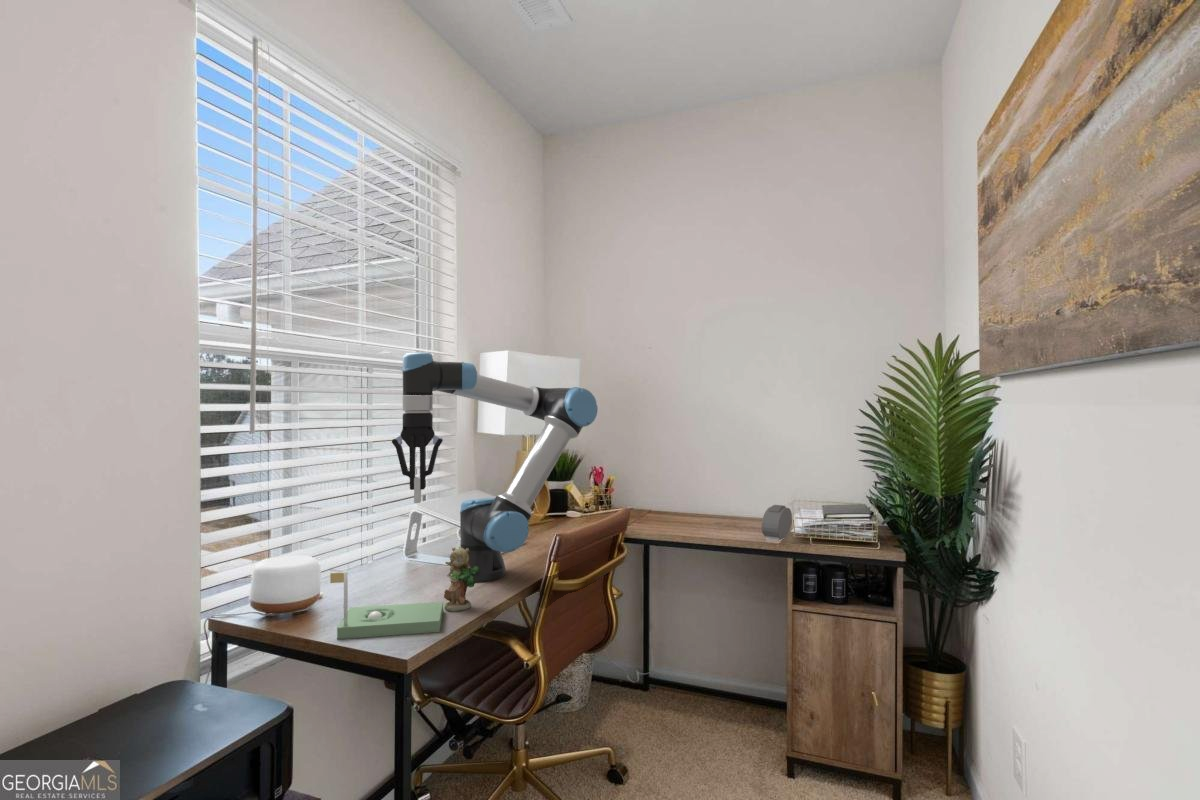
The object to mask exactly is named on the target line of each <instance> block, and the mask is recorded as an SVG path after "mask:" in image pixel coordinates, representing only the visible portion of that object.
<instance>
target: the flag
mask: <svg viewBox="0 0 1200 800" xmlns="http://www.w3.org/2000/svg"><path fill="white" fill-rule="evenodd" d="M329 574H330V577H329V578H330V579H329V580H330V581H329V582H330V584H340V583H343V618H344V626H347V625H348V610H349V607H348V606H349V605H348V603H349V601H348V600H349V596H348V594H349V589H348V587H349V583H348V581H349V577H348V575H349V573H348V571H343V572H341V571H340V572H330V573H329Z"/></svg>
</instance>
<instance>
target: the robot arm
mask: <svg viewBox="0 0 1200 800" xmlns="http://www.w3.org/2000/svg"><path fill="white" fill-rule="evenodd" d="M433 358H434V356H433V354H431V353H427V352H407V353H405V354H404V355H403V358H402V359H403V360H402V370H401V372H402V411H404V413H403V414H402V429H401V431H400V435H398V436H397V437H396V438H393V439H392V440H391V443H392V444H393V446H394V448H395V450H396V453H397V458H398V462H399V467H400V469H401V474H402V476H406V477H408V478H409V489H410V490H411V491H413V504H421V502H422V490H425V489H426V477H428V476H431V475H432V474H433V472H434V468H435V463H436V461H437V459H436V458H437V455H438V453H439V448H440V445H441V444H442V442H443V441H444V440H443V438H442V437H439V436H437V435H436V434H435V431H434V428H433V427H434V426H433V425H434V424H433V423H434V421H433V419H434V418H433V417H434V416H433V413H432V412H431V411H433V409H434V408H433V406H434V405H433V403H434V401H433V397H434V396H433V395H434V394H433V392H436V391H437V392H442V393H446V394H451V395H453V396H454V395H455V396H459V397H462V398H463V397H464V398H467V399H471V400H475V401H479V402H484V403H488V404H493V405H496V406H499V407H500V406H501V407H504V408H508V409H509V408H510V409H514V410H517V411H522V413H523V414H524V415H526V416H528V417H533V418H535V419H539V420H542V421H544V422H545V425H544V427H543V429H542V431H541V432H540V434H539V435H538V437H537V439H536V441H535V442H534V444H533V445H532V447H531V449H530V450H529V451H528V454H527V455H526V456H525V459H524V460H523V462H522V464H520V465H521V466H519V468H518V470H517V472H516V474H515V475H514V476H513V478H512V480H511V482H510V484H509V485H508V486H507V488H506V490H505V492H504V493H500V494H497V495H495V496H496V497H487V498H474V499H473V498H472V499H467V500H464V501H463V500H462V502H461V504H460V512H459V514H460V515H459V517H460V524H459V525H460V548H461V547H462V548H464V549H465V550H466V548H468V549H469V550H470V551H468V554H469V561H468V563H469V566H470V567H471V568H474V567H475V566H476V567H479V571H478V573H476V574H475V575H474V576H473V577H474V578H475V579H474V581H475V583H478V582H479V583H481V582H488V581H489V582H490V581H494V580H497V579H500V578H502V577H504V576H505V574H506V564H505V561H504V558H503V556H502V553H511V552H513V551H516V550H518V549H519V548H521V547H522V546H523V544H524V543H525V542H526V541H527V539H528V536H529V533H530V528H529V526H530V524H529V522H530V519H531V517H532V516H533V515H532V511H531V507H532V506H533V503H534V502H535V500H536V499H537V496H538V495H539V493H540V492H541V490H542V489H543V486H545V483H546V481H547V479H548V478H549V477H550V474H551V472H552V471H553V470H554V468H555V466H556V464H557V463H558V461H559V459H560V457H561V456H562V453H563V452H564V450H565V449H566V447H567V445H568V444H569V441H571V439H575V438H577V437H578V436H579V434H580V433H581V431H582V429H583V428H584V427H588V426H590V425H591V424H593V422H594V421H595V420H596V419H597V416H598V411H599V410H598V405H597V400H596V397H595V396H594V394H593V393H592V392H591V391H590V390H588V389H586V388H582V387H577V386H573V387H554V388H550V387H549V388H546V387H538V386H535V385H534V386H533V385H531V386H529V387H525V386H522V385H518V384H514V383H510V382H508V381H503V380H499V379H495V378H493V377H489V376H484V375H481V374H478V371H477V368H476V366H475V365H474V364H473V363H470V362H464V361H462V362H459V361H458V362H457V361H436V360H434V359H433ZM432 440H433V441H432ZM431 441H432V443H433V444H434V445H433V447H432V452H431V454H430V460H429V463H428V468H427V470H426V466H427V465H426V463H427V462H426V456H427V455H426V451H427V446H428V445H429V443H431ZM403 442H405V444H406V445H407V446H408V448H409V450H408V451H409V469H408V466H407V461H406V457H405V453H404V448H403V446H402V444H403ZM416 448H419V476H416ZM471 568H470V569H471Z"/></svg>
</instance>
